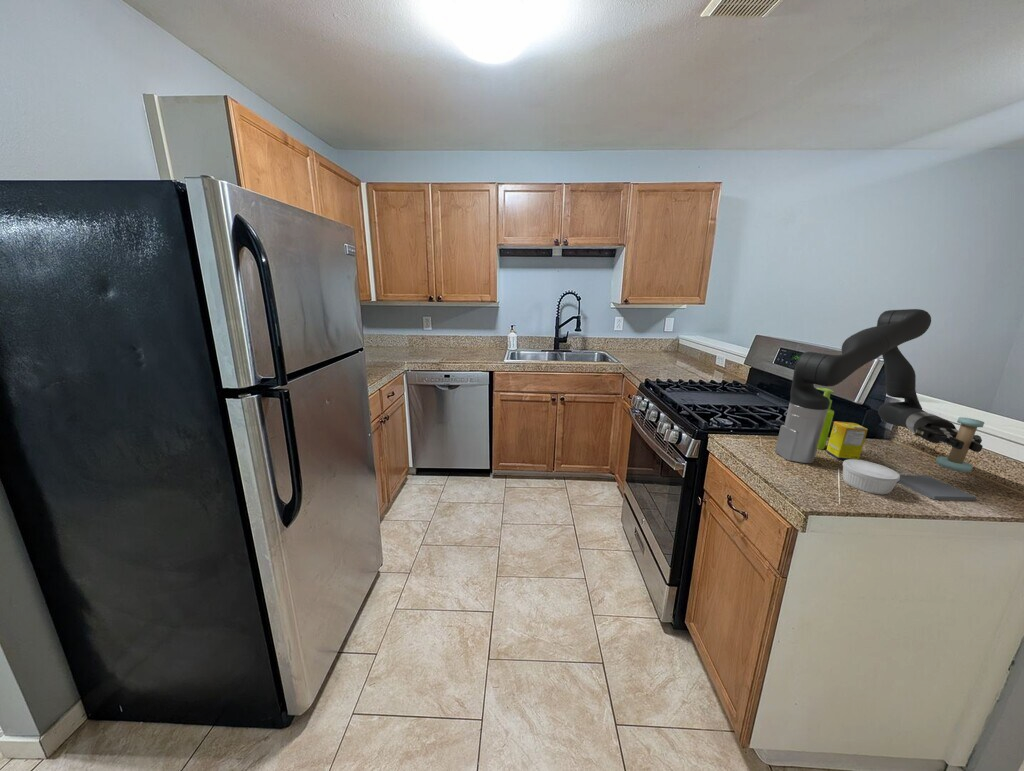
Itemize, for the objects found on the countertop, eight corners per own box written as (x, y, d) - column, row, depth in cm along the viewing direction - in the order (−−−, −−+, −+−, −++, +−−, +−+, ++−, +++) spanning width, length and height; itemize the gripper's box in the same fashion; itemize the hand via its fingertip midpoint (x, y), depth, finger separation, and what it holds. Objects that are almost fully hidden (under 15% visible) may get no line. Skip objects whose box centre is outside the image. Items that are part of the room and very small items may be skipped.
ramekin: (855, 493, 94) (860, 475, 92) (829, 473, 104) (833, 456, 103) (906, 500, 92) (913, 481, 90) (874, 478, 102) (880, 461, 101)
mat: (933, 499, 92) (935, 496, 92) (889, 477, 103) (890, 474, 102) (975, 500, 92) (976, 496, 92) (926, 478, 103) (927, 475, 103)
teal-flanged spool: (955, 471, 97) (974, 423, 94) (928, 460, 103) (945, 415, 100) (978, 472, 97) (998, 424, 94) (950, 461, 103) (968, 416, 100)
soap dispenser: (814, 441, 127) (828, 387, 122) (828, 449, 121) (844, 392, 116) (796, 440, 128) (810, 386, 123) (810, 448, 121) (825, 391, 116)
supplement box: (845, 453, 118) (854, 422, 115) (858, 461, 112) (868, 429, 109) (824, 451, 119) (833, 420, 116) (837, 459, 113) (846, 427, 110)
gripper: (903, 411, 113) (939, 429, 97) (965, 419, 107) (1013, 439, 92) (895, 433, 115) (929, 454, 99) (956, 442, 109) (1002, 466, 94)
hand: (969, 447), depth 96 cm, fingers closed on teal-flanged spool, 3 cm apart
